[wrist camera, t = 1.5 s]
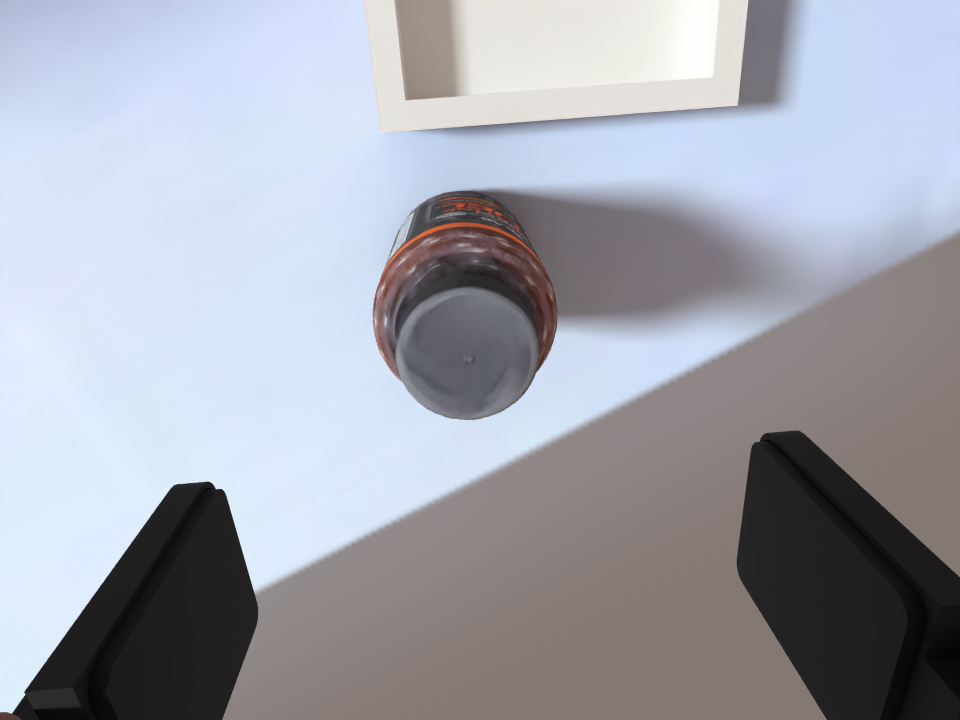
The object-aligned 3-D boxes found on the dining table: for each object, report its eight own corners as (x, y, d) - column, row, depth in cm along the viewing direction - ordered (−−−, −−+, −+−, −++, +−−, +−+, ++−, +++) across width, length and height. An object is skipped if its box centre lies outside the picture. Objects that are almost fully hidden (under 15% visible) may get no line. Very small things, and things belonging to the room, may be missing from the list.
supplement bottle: (544, 207, 26) (611, 282, 16) (506, 331, 28) (543, 469, 18) (408, 171, 25) (383, 226, 15) (381, 302, 27) (343, 431, 17)
